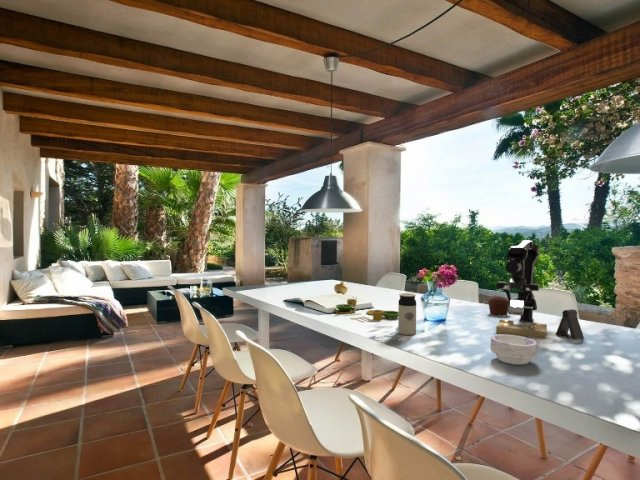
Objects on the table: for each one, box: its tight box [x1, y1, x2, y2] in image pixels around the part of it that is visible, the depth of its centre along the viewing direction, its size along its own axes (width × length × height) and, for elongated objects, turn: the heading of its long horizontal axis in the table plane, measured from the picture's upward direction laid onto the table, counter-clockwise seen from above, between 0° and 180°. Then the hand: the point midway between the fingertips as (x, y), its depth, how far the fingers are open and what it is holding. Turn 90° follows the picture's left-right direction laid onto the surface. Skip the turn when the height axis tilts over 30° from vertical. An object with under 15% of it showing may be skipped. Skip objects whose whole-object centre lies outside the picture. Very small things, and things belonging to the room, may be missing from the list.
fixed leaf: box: [495, 319, 548, 339], centre depth 189 cm, size 14×20×4 cm
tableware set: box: [333, 298, 398, 323], centre depth 232 cm, size 41×28×6 cm
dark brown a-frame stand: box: [555, 308, 585, 341], centre depth 182 cm, size 9×6×12 cm, turn 26°
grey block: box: [507, 299, 525, 317], centre depth 199 cm, size 10×6×4 cm, turn 147°
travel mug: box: [397, 292, 417, 336], centre depth 187 cm, size 8×8×18 cm
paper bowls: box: [490, 334, 538, 366], centre depth 148 cm, size 15×15×8 cm
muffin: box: [487, 295, 510, 317], centre depth 232 cm, size 12×11×10 cm
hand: (517, 303), depth 201 cm, fingers closed on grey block, 6 cm apart
